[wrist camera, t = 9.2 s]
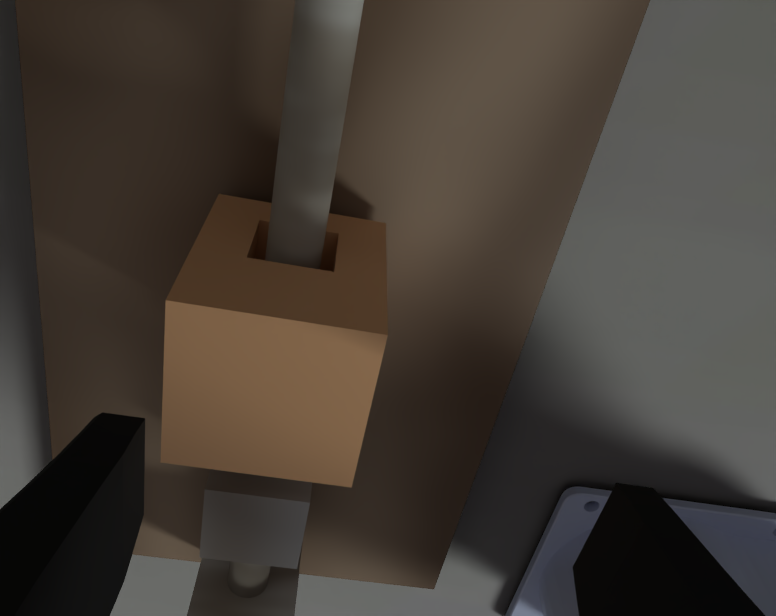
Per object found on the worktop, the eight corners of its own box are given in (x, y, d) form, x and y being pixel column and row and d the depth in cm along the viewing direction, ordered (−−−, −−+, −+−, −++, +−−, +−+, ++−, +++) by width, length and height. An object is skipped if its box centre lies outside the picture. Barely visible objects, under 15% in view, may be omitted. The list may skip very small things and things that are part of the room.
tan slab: (819, -539, 11) (1098, -802, 7) (431, 561, 26) (442, 702, 21) (-12, -808, 10) (-328, -1361, 5) (72, 517, 24) (5, 659, 20)
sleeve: (385, 223, 17) (388, 335, 13) (357, 354, 19) (351, 487, 15) (218, 193, 16) (165, 300, 12) (209, 332, 18) (160, 462, 14)
